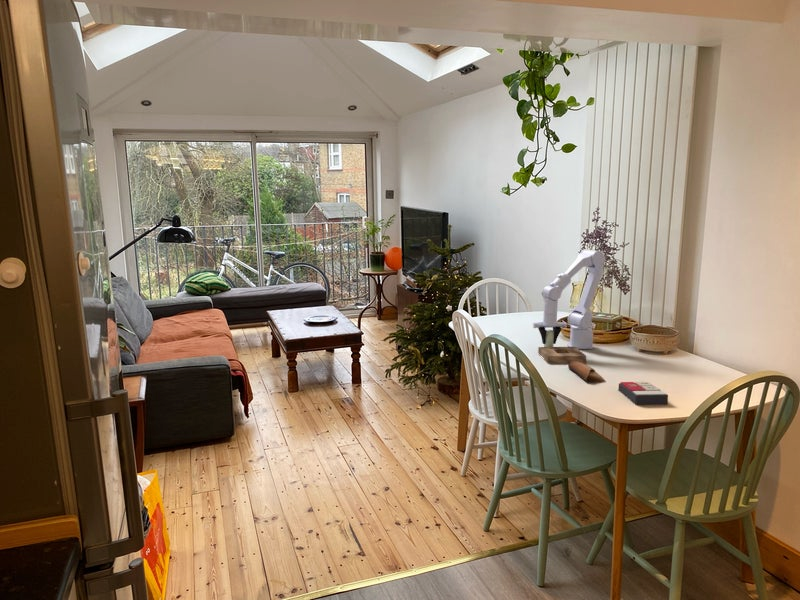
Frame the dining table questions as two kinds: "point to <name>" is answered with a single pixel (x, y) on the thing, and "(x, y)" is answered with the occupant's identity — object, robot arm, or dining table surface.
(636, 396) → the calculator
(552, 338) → the peg
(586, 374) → the brown pointed cylinder
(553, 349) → the peg board
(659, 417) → the dining table surface
